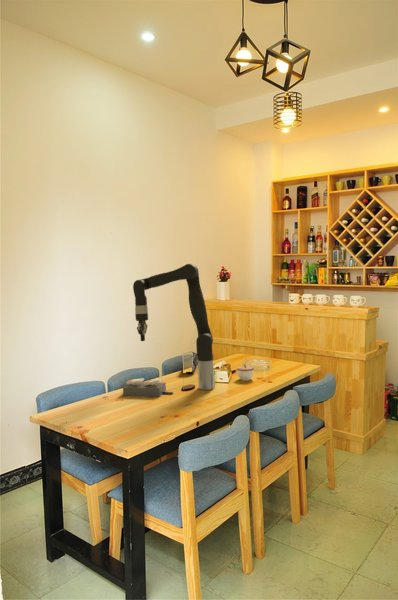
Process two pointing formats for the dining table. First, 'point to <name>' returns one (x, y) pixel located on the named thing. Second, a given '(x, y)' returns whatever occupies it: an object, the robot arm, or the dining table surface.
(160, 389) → the switch box
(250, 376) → the lidded jar
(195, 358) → the clear pitcher
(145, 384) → the rocker inner
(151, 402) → the dining table surface
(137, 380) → the rocker outer
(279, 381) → the dining table surface
